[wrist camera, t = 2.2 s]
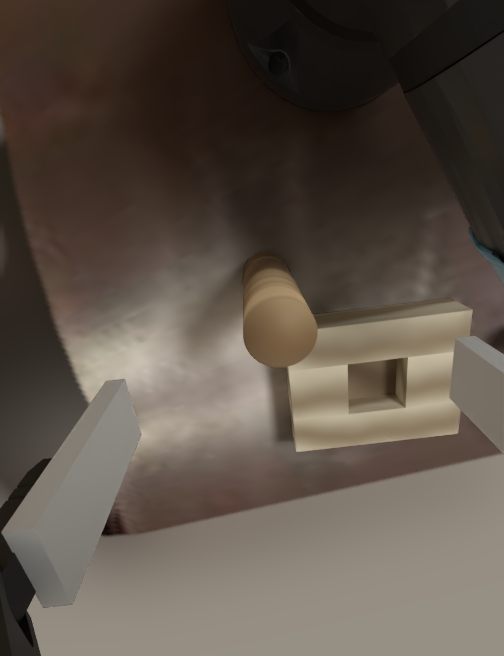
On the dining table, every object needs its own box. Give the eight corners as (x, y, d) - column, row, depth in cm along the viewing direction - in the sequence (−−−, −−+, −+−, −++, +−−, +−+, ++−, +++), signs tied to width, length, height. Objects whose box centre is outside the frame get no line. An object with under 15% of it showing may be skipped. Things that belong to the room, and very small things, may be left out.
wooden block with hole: (280, 318, 34) (284, 333, 30) (450, 297, 33) (472, 309, 30) (291, 429, 39) (296, 452, 35) (439, 412, 38) (457, 433, 35)
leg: (239, 254, 31) (237, 303, 18) (286, 248, 31) (316, 293, 18) (245, 298, 33) (247, 372, 20) (289, 292, 33) (320, 363, 20)
